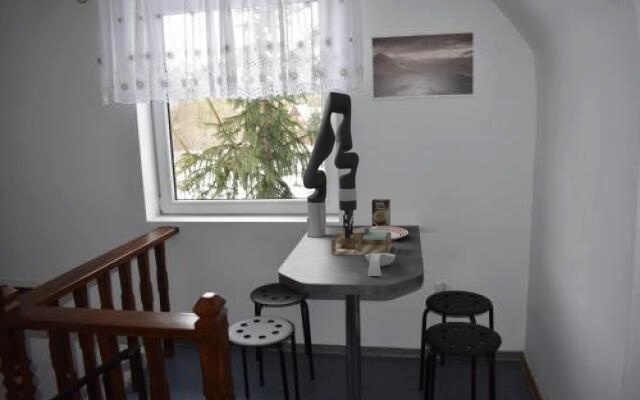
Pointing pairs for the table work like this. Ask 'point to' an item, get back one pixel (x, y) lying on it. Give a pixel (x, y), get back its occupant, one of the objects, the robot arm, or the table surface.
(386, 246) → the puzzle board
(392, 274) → the table surface
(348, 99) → the robot arm
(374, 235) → the sliding cover
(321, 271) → the table surface
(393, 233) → the dinner plate
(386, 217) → the coffee box
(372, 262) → the spoon rest
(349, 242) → the walnut block
